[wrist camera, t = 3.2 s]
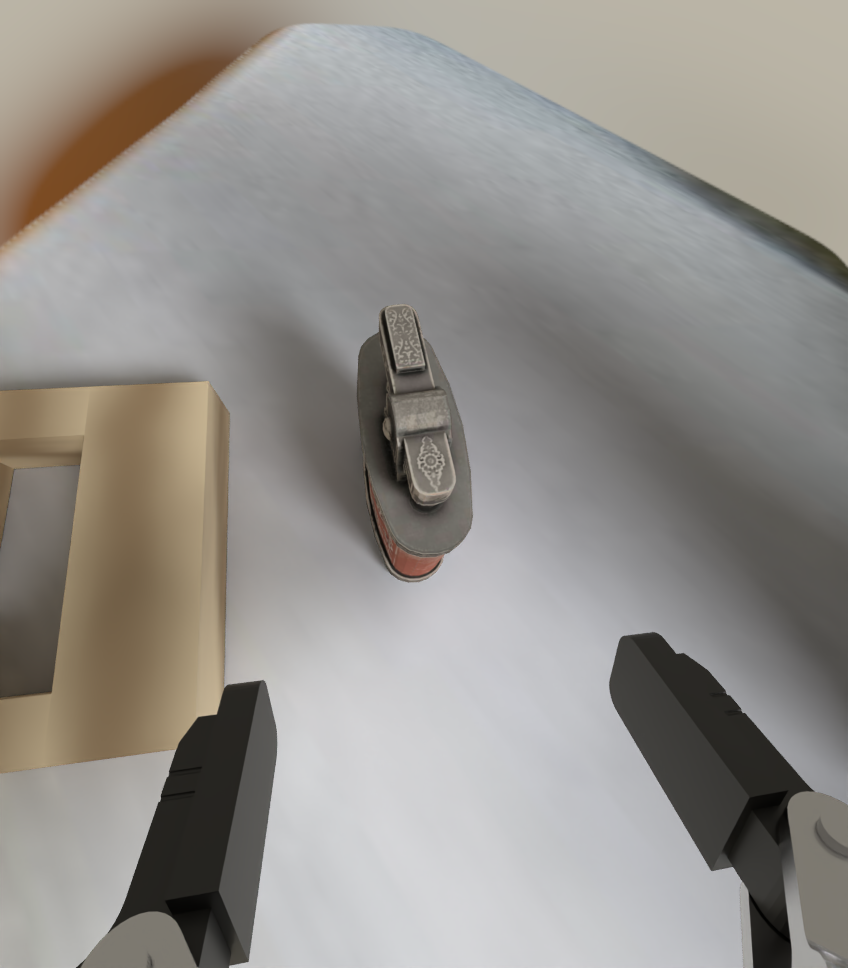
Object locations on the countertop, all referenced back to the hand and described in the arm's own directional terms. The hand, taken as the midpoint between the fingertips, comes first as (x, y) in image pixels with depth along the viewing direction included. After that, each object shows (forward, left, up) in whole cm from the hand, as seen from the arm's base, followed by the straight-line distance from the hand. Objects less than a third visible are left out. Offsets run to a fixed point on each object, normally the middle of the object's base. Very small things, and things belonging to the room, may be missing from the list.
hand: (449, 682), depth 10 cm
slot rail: (+15, -5, -10) cm, 19 cm away
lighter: (0, -7, -10) cm, 13 cm away
